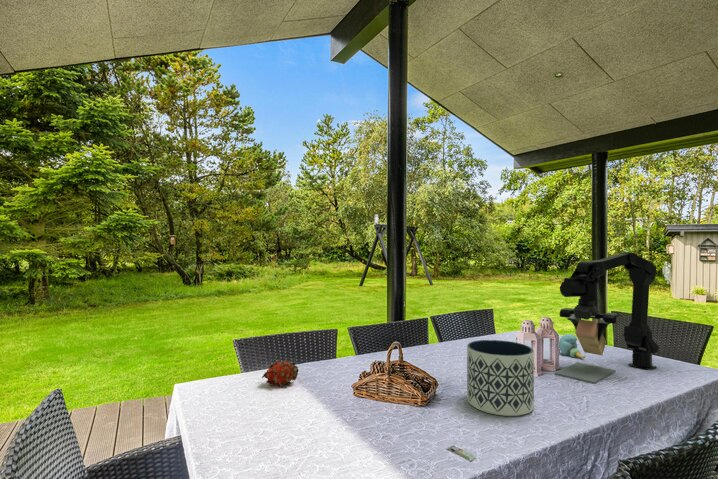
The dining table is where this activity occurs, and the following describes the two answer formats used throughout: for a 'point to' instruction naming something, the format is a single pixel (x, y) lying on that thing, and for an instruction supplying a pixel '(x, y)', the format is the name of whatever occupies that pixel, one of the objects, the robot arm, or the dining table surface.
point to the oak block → (590, 337)
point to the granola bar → (461, 452)
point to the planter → (500, 377)
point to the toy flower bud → (569, 346)
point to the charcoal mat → (585, 372)
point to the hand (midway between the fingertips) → (589, 339)
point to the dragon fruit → (281, 373)
